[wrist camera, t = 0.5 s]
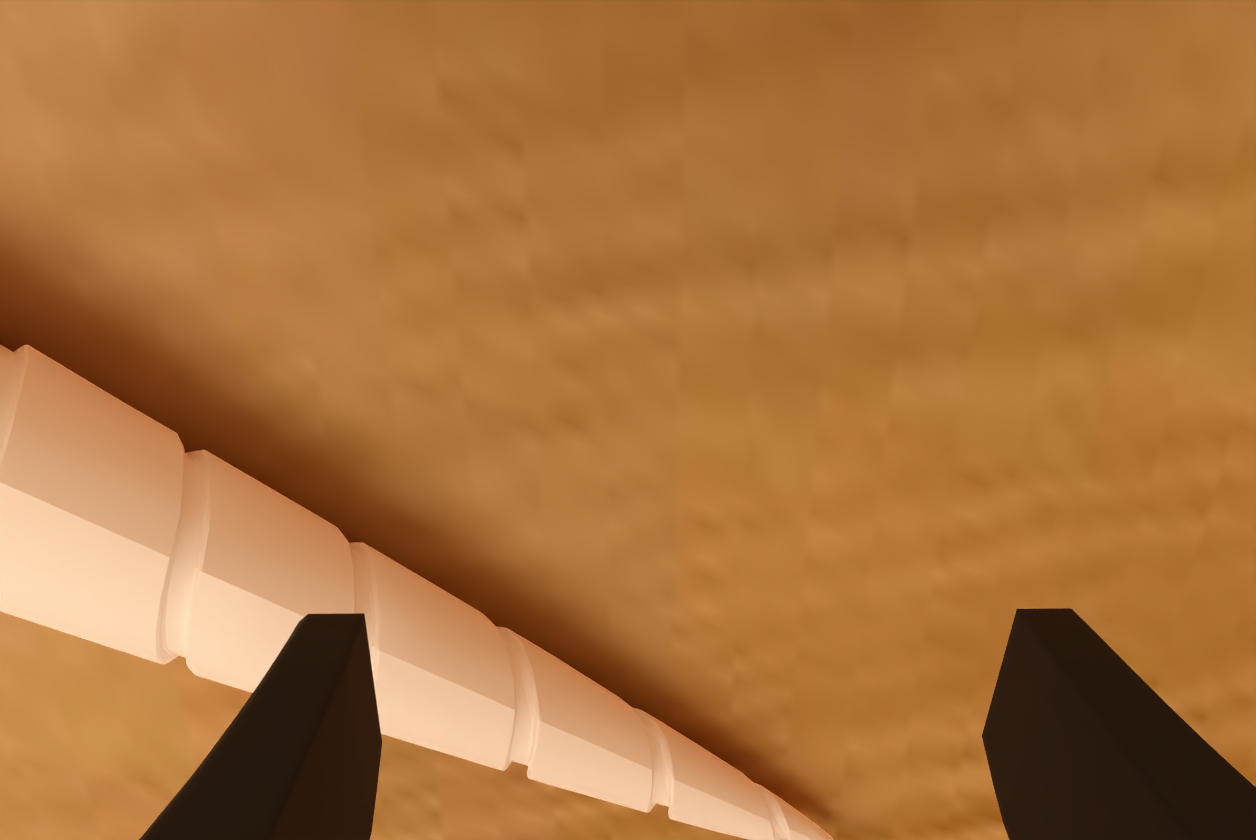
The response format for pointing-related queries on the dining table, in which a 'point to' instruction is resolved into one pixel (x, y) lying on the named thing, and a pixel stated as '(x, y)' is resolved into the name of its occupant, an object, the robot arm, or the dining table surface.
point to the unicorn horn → (308, 606)
